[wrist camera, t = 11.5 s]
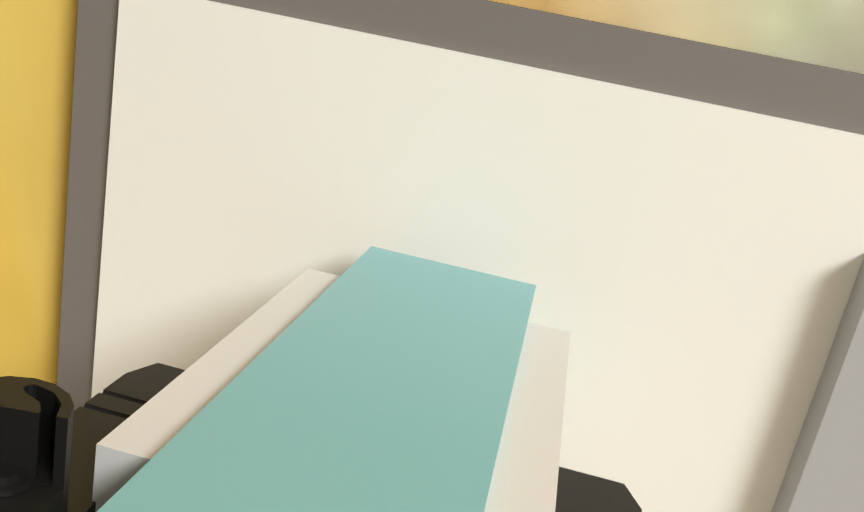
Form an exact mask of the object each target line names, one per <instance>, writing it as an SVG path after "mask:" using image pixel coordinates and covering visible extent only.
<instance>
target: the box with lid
mask: <svg viewBox="0 0 864 512" xmlns="http://www.w3.org/2000/svg"><path fill="white" fill-rule="evenodd" d="M535 289H536V285H533V284H529V283H524V282H520V281H516V280H512V279H508V278H503V277H499V276H495V275H491V274H487V273H482V272H478V271H474V270H470V269H466V268H461V267H457V266H453V265H449V264H445V263H440V262H436V261H432V260H428V259H424V258H419V257H415V256H411V255H407V254H403V253H398V252H394V251H390V250H386V249H382V248H377V247H373V246H371V247H370V248H369V249H368V250H367V251H366V252H365V253H364V254H363V255H362V256H361V257H360V258H359V259H358V260H357V261H356V262H355V263H354V264H353V265H352V266H350V267H349V268H348V269H347V270H346V271H345V272H344V273H343V274H342V275H341V276H340V277H339V278H338V279H337V280H336V281H335V282H334V283H333V284H332V285H331V286H330V287H329V288H328V289H327V290H326V291H325V292H324V293H323V294H321V295H320V296H319V297H318V298H317V299H316V300H315V301H314V302H313V303H312V304H311V305H310V306H309V307H308V308H307V309H306V310H305V311H304V312H303V313H302V314H301V315H300V316H299V317H298V318H297V319H296V320H295V321H294V322H293V323H291V324H290V325H289V326H288V327H287V328H286V329H285V330H284V331H283V332H282V333H281V334H280V335H279V336H278V337H277V338H276V339H275V340H274V341H273V342H272V343H271V344H270V345H269V346H268V347H267V348H266V349H265V350H264V351H262V352H261V353H260V354H259V355H258V356H257V357H256V358H255V359H254V360H253V361H252V362H251V363H250V364H249V365H248V366H247V367H246V368H245V369H244V370H243V371H242V372H241V373H240V374H239V375H238V376H237V377H236V378H235V379H233V380H232V381H231V382H230V383H229V384H228V385H227V386H226V387H225V388H224V389H223V390H222V391H221V392H220V393H219V394H218V395H217V396H216V397H215V398H214V399H213V400H212V401H211V402H210V403H209V404H208V405H207V406H206V407H205V408H203V409H202V410H201V411H200V412H199V413H198V414H197V415H196V416H195V417H194V418H193V419H192V420H191V421H190V422H189V423H188V424H187V425H186V426H185V427H184V428H183V429H182V430H181V431H180V432H179V433H178V434H177V435H176V436H174V437H173V438H172V439H171V440H170V441H169V442H168V443H167V444H166V445H165V446H164V447H163V448H162V449H161V450H160V451H159V452H158V453H157V454H156V455H155V456H154V457H153V458H152V459H151V460H150V461H149V462H148V463H147V464H145V465H144V466H143V467H142V468H141V469H140V470H139V471H138V472H137V473H136V474H135V475H134V476H133V477H132V478H131V479H130V480H129V481H128V482H127V483H126V484H125V485H124V486H123V487H122V488H121V489H120V490H119V491H118V492H116V493H115V494H114V495H113V496H112V497H111V498H110V499H109V500H108V501H107V502H106V503H105V504H104V505H103V506H102V507H101V508H100V509H99V510H98V511H97V512H484V509H485V505H486V501H487V496H488V492H489V488H490V483H491V479H492V475H493V470H494V466H495V462H496V457H497V453H498V449H499V444H500V440H501V436H502V431H503V427H504V423H505V418H506V414H507V410H508V405H509V401H510V397H511V392H512V388H513V384H514V379H515V375H516V371H517V366H518V362H519V358H520V354H521V349H522V345H523V341H524V336H525V332H526V328H527V323H528V319H529V315H530V310H531V306H532V302H533V297H534V293H535Z"/></svg>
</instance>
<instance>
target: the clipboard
mask: <svg viewBox="0 0 864 512" xmlns="http://www.w3.org/2000/svg"><path fill="white" fill-rule="evenodd" d="M371 246H373V247H377V248H382V249H386V250H390V251H394V252H398V253H403V254H407V255H411V256H415V257H419V258H424V259H428V260H432V261H436V262H440V263H445V264H449V265H453V266H457V267H461V268H466V269H470V270H474V271H478V272H482V273H487V274H491V275H495V276H499V277H503V278H508V279H512V280H516V281H520V282H524V283H529V284H533V285H536V289H535V293H534V297H533V302H532V306H531V310H530V315H529V319H528V322H531V323H535V324H539V325H543V326H547V327H551V328H555V329H559V330H564V331H568V332H570V342H569V354H568V366H567V377H566V389H565V401H564V413H563V425H562V437H561V449H560V461H559V467H563V468H567V469H571V470H574V471H578V472H582V473H586V474H589V475H593V476H597V477H601V478H604V479H608V480H612V481H616V482H619V483H623V484H625V486H626V487H627V489H628V490H629V492H630V493H631V494H632V496H633V497H634V499H635V500H636V502H637V503H638V505H639V506H640V507H641V509H642V512H864V75H863V74H858V73H853V72H848V71H843V70H838V69H833V68H828V67H823V66H818V65H813V64H807V63H802V62H797V61H792V60H787V59H782V58H777V57H772V56H767V55H762V54H757V53H752V52H746V51H741V50H736V49H731V48H726V47H721V46H716V45H711V44H706V43H701V42H696V41H691V40H686V39H680V38H675V37H670V36H665V35H660V34H655V33H650V32H645V31H640V30H635V29H630V28H625V27H619V26H614V25H609V24H604V23H599V22H594V21H589V20H584V19H579V18H574V17H569V16H564V15H559V14H553V13H548V12H543V11H538V10H533V9H528V8H523V7H518V6H513V5H508V4H503V3H498V2H492V1H487V0H78V13H77V31H76V49H75V67H74V85H73V102H72V120H71V138H70V156H69V174H68V192H67V210H66V227H65V245H64V263H63V281H62V299H61V317H60V335H59V353H58V370H57V386H59V387H60V388H62V389H63V390H65V391H66V392H67V393H69V394H70V396H71V399H72V401H73V404H74V411H75V410H76V409H77V408H79V407H80V406H81V407H84V405H85V403H86V402H87V401H88V400H90V399H91V398H92V397H94V396H95V395H97V394H98V393H103V389H105V388H106V387H107V386H109V385H110V384H112V383H113V382H114V381H116V380H117V379H118V378H120V377H121V376H123V375H124V374H125V373H128V372H131V371H134V370H137V369H140V368H143V367H146V366H149V365H152V364H156V363H161V364H165V365H168V366H172V367H176V368H180V369H183V370H186V369H187V368H189V367H190V366H191V365H192V364H194V363H195V362H196V361H197V360H198V359H200V358H201V357H202V356H203V355H204V354H206V353H207V352H208V351H209V350H210V349H212V348H213V347H214V346H215V345H216V344H218V343H219V342H220V341H221V340H222V339H224V338H225V337H226V336H227V335H228V334H230V333H231V332H232V331H233V330H234V329H236V328H237V327H238V326H239V325H240V324H242V323H243V322H244V321H245V320H246V319H248V318H249V317H250V316H251V315H253V314H254V313H255V312H256V311H257V310H259V309H260V308H261V307H262V306H263V305H265V304H266V303H267V302H268V301H269V300H271V299H272V298H273V297H274V296H275V295H277V294H278V293H279V292H280V291H281V290H283V289H284V288H285V287H286V286H287V285H289V284H290V283H291V282H292V281H293V280H295V279H296V278H297V277H298V276H299V275H301V274H302V273H303V272H304V271H305V270H307V269H308V268H309V269H313V270H317V271H321V272H326V273H330V274H334V275H338V276H341V275H342V274H343V273H344V272H345V271H346V270H347V269H348V268H349V267H350V266H352V265H353V264H354V263H355V262H356V261H357V260H358V259H359V258H360V257H361V256H362V255H363V254H364V253H365V252H366V251H367V250H368V249H369V248H370V247H371Z"/></svg>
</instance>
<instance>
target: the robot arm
mask: <svg viewBox="0 0 864 512" xmlns="http://www.w3.org/2000/svg"><path fill="white" fill-rule="evenodd" d="M339 277H340V276H338V275H334V274H330V273H326V272H321V271H317V270H313V269H309V268H308V269H307V270H305V271H304V272H303V273H302V274H301V275H299V276H298V277H297V278H296V279H295V280H293V281H292V282H291V283H290V284H289V285H287V286H286V287H285V288H284V289H283V290H281V291H280V292H279V293H278V294H277V295H275V296H274V297H273V298H272V299H271V300H269V301H268V302H267V303H266V304H265V305H263V306H262V307H261V308H260V309H259V310H257V311H256V312H255V313H254V314H253V315H251V316H250V317H249V318H248V319H246V320H245V321H244V322H243V323H242V324H240V325H239V326H238V327H237V328H236V329H234V330H233V331H232V332H231V333H230V334H228V335H227V336H226V337H225V338H224V339H222V340H221V341H220V342H219V343H218V344H216V345H215V346H214V347H213V348H212V349H210V350H209V351H208V352H207V353H206V354H204V355H203V356H202V357H201V358H200V359H198V360H197V361H196V362H195V363H194V364H192V365H191V366H190V367H189V368H187V369H186V370H183V369H180V368H176V367H172V366H168V365H165V364H161V363H156V364H152V365H149V366H146V367H143V368H140V369H137V370H134V371H131V372H128V373H125V374H124V375H123V376H121V377H120V378H118V379H117V380H116V381H114V382H113V383H112V384H110V385H109V386H107V387H106V388H105V389H103V393H98V394H97V395H95V396H94V397H92V398H91V399H90V400H88V401H87V402H86V403H85V405H84V407H81V406H80V407H79V408H77V409H76V410H75V411H74V404H73V401H72V399H71V396H70V394H69V393H67V392H66V391H65V390H63V389H62V388H60V387H59V386H57V385H56V384H52V383H49V382H45V381H42V380H39V379H35V378H25V377H13V376H5V377H0V512H97V511H98V510H99V509H100V508H101V507H102V506H103V505H104V504H105V503H106V502H107V501H108V500H109V499H110V498H111V497H112V496H113V495H114V494H115V493H116V492H118V491H119V490H120V489H121V488H122V487H123V486H124V485H125V484H126V483H127V482H128V481H129V480H130V479H131V478H132V477H133V476H134V475H135V474H136V473H137V472H138V471H139V470H140V469H141V468H142V467H143V466H144V465H145V464H147V463H148V462H149V461H150V460H151V459H152V458H153V457H154V456H155V455H156V454H157V453H158V452H159V451H160V450H161V449H162V448H163V447H164V446H165V445H166V444H167V443H168V442H169V441H170V440H171V439H172V438H173V437H174V436H176V435H177V434H178V433H179V432H180V431H181V430H182V429H183V428H184V427H185V426H186V425H187V424H188V423H189V422H190V421H191V420H192V419H193V418H194V417H195V416H196V415H197V414H198V413H199V412H200V411H201V410H202V409H203V408H205V407H206V406H207V405H208V404H209V403H210V402H211V401H212V400H213V399H214V398H215V397H216V396H217V395H218V394H219V393H220V392H221V391H222V390H223V389H224V388H225V387H226V386H227V385H228V384H229V383H230V382H231V381H232V380H233V379H235V378H236V377H237V376H238V375H239V374H240V373H241V372H242V371H243V370H244V369H245V368H246V367H247V366H248V365H249V364H250V363H251V362H252V361H253V360H254V359H255V358H256V357H257V356H258V355H259V354H260V353H261V352H262V351H264V350H265V349H266V348H267V347H268V346H269V345H270V344H271V343H272V342H273V341H274V340H275V339H276V338H277V337H278V336H279V335H280V334H281V333H282V332H283V331H284V330H285V329H286V328H287V327H288V326H289V325H290V324H291V323H293V322H294V321H295V320H296V319H297V318H298V317H299V316H300V315H301V314H302V313H303V312H304V311H305V310H306V309H307V308H308V307H309V306H310V305H311V304H312V303H313V302H314V301H315V300H316V299H317V298H318V297H319V296H320V295H321V294H323V293H324V292H325V291H326V290H327V289H328V288H329V287H330V286H331V285H332V284H333V283H334V282H335V281H336V280H337V279H338V278H339ZM569 342H570V332H568V331H564V330H559V329H555V328H551V327H547V326H543V325H539V324H535V323H531V322H528V323H527V328H526V332H525V336H524V341H523V345H522V349H521V354H520V358H519V362H518V366H517V371H516V375H515V379H514V384H513V388H512V392H511V397H510V401H509V405H508V410H507V414H506V418H505V423H504V427H503V431H502V436H501V440H500V444H499V449H498V453H497V457H496V462H495V466H494V470H493V475H492V479H491V483H490V488H489V492H488V496H487V501H486V505H485V509H484V512H642V509H641V507H640V506H639V505H638V503H637V502H636V500H635V499H634V497H633V496H632V494H631V493H630V492H629V490H628V489H627V487H626V486H625V484H623V483H619V482H616V481H612V480H608V479H604V478H601V477H597V476H593V475H589V474H586V473H582V472H578V471H574V470H571V469H567V468H563V467H559V461H560V449H561V437H562V425H563V413H564V401H565V389H566V377H567V366H568V354H569Z"/></svg>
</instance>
